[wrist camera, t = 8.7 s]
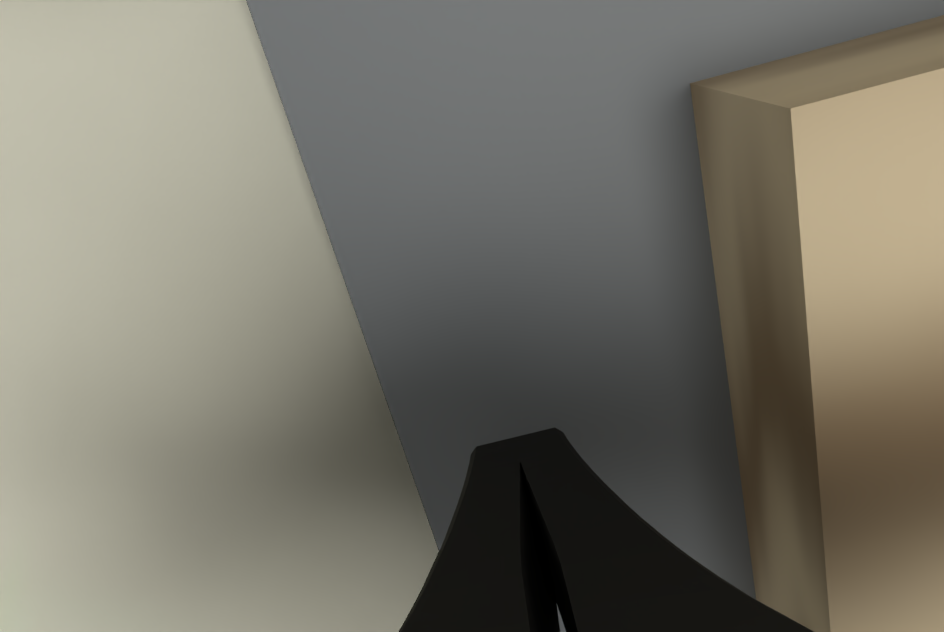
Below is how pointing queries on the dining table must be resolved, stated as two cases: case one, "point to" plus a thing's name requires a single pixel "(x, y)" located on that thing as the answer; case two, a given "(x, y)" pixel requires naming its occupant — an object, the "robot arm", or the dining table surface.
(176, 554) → the dining table surface
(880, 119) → the oak link
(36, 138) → the dining table surface
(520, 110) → the slate board
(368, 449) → the dining table surface
